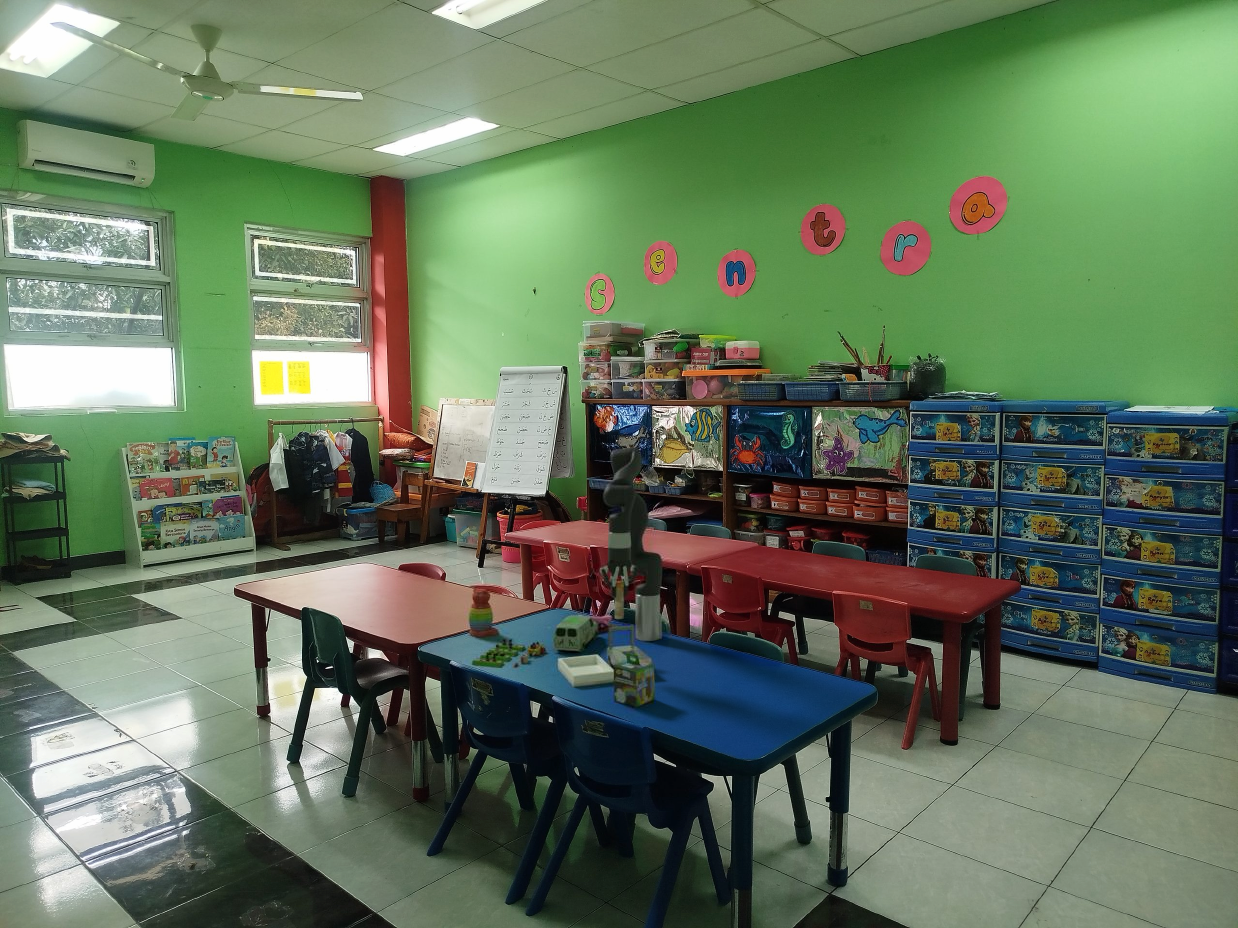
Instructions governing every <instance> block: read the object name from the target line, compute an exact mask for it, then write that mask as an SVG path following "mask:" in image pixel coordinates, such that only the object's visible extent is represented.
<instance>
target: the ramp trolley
mask: <svg viewBox="0 0 1238 928" xmlns="http://www.w3.org/2000/svg"><path fill="white" fill-rule="evenodd" d="M620 626H621V625H620ZM626 630H630V631H629V632H630V634H629V635H630V636H629V637H630V641H629V642H630V645H622V646H613V632H616V631H626ZM626 652H628V653H632V654H636V655H638V658H639V660H644V661H649V662H652V658H651V657H650V656H649V655H648V654H646V653H645V652H644V651H642V650H641V649H640V648H639V647H638V646H636V645H635V625H633V624H632V625H624V626H623V625H622V626H621V627H611V628H609V632H608V647H607V648H606V660H607V664H608V665H609V666H610V667H611V668H614V665H615V664H617V663H620V662H621V661H624V660H627V658H626ZM630 658H634V657H632V656H631V657H630ZM634 659H635V658H634Z"/></svg>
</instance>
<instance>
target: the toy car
mask: <svg viewBox="0 0 1238 928" xmlns="http://www.w3.org/2000/svg"><path fill="white" fill-rule="evenodd" d="M578 615H579V614H578ZM578 615H577V614H576V615H572V614H571V615H568V616H567V617H565V618H564V619H563V620H561V621H560V622H559V624H558V625H556V626H555V629H554V633H553V638H552V639H553V640H552V641H553V646H552V649H553V650H556V651H573V652H574V651H575V652H578V653H582V652H583V651H584V650H585V646H586V645H587V644H588V643H589V642H590V641H591V640H596V639H597V635H596V633H598V630H597V623H596V622H593V620H592V619H591V617H588V616H589V615H588V616H587V615H586V616H585V615H583V616H578Z"/></svg>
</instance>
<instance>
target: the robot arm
mask: <svg viewBox="0 0 1238 928" xmlns="http://www.w3.org/2000/svg"><path fill="white" fill-rule="evenodd" d="M610 464H611V468H612V472H613V479H612V481H611V482H609V483H608V484H607V485H606V487H605V489H604V491H603V495H602V496H603V502H604V504H605V505H606V506H608V507H615V508H617V507H618V508H621V512H617V513H613V514H610V515H609V517H608V537H607V563H606V565H605V566H603V567H599V569H598V571H599V573H600V575H601V578H602V579H603V582H604V584H605V585H607V586H609V587H610V589H609V590H610V592H609V593H610V596H611V597H612V598H614V599H615V598H616V587H615V585H616V582H617V580H618V577H621V581H622V582H624V598H626V597H627V596H628V593H629V585H631V584H634V582H635V580H636V578H637V577H636V576H637V575H639V576H644V577H646V578H645V579H646V581H645V582H644V583H640V584H638V585H636V586H635V631H634V635H635V638H636V640H638V641H642V642H644V641H645V642H651V641H657V640H661V639H662V638H663V637H662V636H663V635H662V631H663V629H662V624H663V623H662V620H663V619H662V617H663V616H662V613H661V612H660V611H661V605H660V604H661V602H660V600H661V599H660V598H661V597H660V595H661V594H660V593H661V587H662V583H663V582H662V580H663V579H662V578H663V558H662V556H661V555H660V554H659V553H657V552H653V551H645V549H644V544H643V537H644V534H645V531H646V529H647V527H648V524H649V521H650V520H649V513H648V509H647V504H646V502H645V500H644V498H643V497H641V496H640V494H638V492H636V489H635V488H634V487H633V485H634V481H635V479H636V477H637V476H638V475H639V473H640V472H641V470H642V467H643V457H642V454H641V451H640V449H639V448H638V447H626V448H618V449H615V450H612V451H610ZM608 571H609V572H610V575H609V576H610V577H609V576H608V574H607V573H608ZM629 571H630V574H629V575H628V572H629Z"/></svg>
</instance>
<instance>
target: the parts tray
mask: <svg viewBox="0 0 1238 928" xmlns="http://www.w3.org/2000/svg"><path fill="white" fill-rule="evenodd" d="M557 669H558V671H560V673H561V674H562V676H563V677H565V679H566V680H567V681H568V682H569V683H570V684H571V686H572V687H573V688H575V687H582V686H591V685H593V686H594V685H600V684H609V683H614V668H613V667H610V666H609V665H608V662H606V661H605V660H604V659H603V657H601V656H600V655H599V654H590V655H580V656H579V655H578V656H571V657H561V658H560V657H559V658H557Z"/></svg>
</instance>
